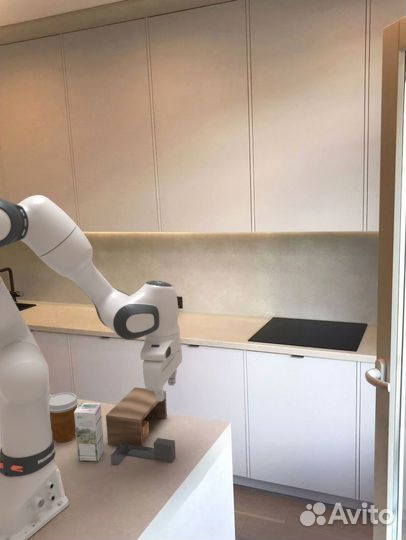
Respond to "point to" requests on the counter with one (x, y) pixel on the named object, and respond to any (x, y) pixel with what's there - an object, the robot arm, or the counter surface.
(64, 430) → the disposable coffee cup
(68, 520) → the counter surface
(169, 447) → the metal crook
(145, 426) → the orange block
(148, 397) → the walnut cubby
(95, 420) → the syrup box
